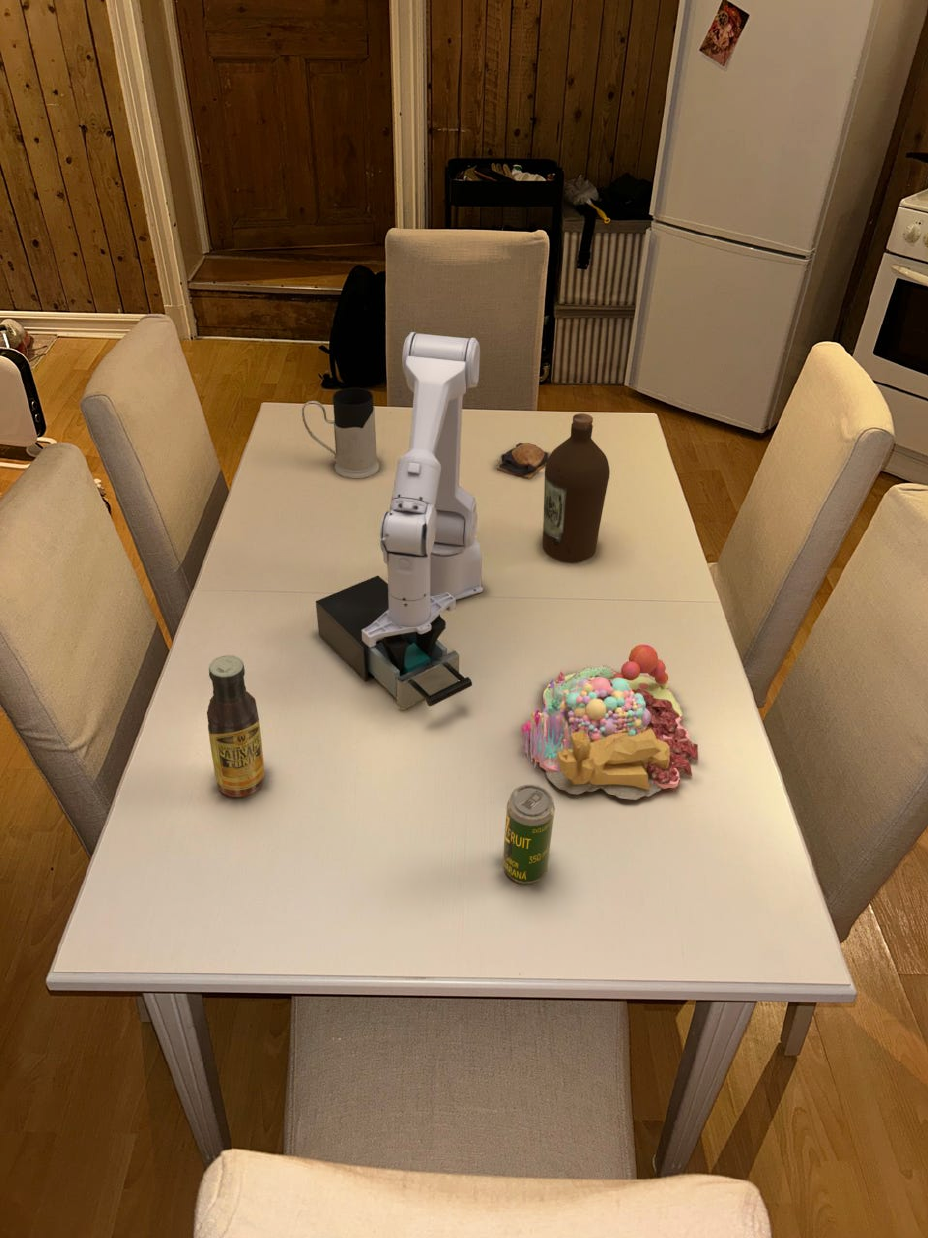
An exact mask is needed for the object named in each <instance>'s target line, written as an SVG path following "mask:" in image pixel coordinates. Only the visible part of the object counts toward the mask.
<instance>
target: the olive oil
mask: <svg viewBox="0 0 928 1238" xmlns="http://www.w3.org/2000/svg"><path fill="white" fill-rule="evenodd" d="M593 423H594V417H593V416H592V415H590V414H588V413H585V412H584V413H583V412H581V413H576V414H574V415H573V416H572V423H571V427H570V436H569V437H568V438H567V439H566V440H564V441H563V442H562V443H560V444H559V445H557V447H555V448H554V449H553V450H552V451H551V452H550V453H551V454H550V456H549V458H548V460H547V463H546V465H545V466H544V484H543V485H544V486H543V487H544V488H543V489H544V491H543V492H544V493H543V523H542V549H543V551H544V552H545V554H547V555H548V556H549V557H550V558H552V559H554V560H557V561H559V562H563V563H564V562H565V563H578V562H579V563H580V562H581V563H582V562H584V561H587V560H589V559H591V558H592V557H593V556H594V555H595V553H596V551H597V545H598V541H599V540H598V539H599V534H600V528H601V522H602V517H603V513H604V511H603V510H604V506H605V500H606V495H607V492H608V491H607V490H608V485H609V482H610V481H609V480H610V475H611V474H610V470H611V469H610V465H609V460H608V457H607V455H606V453H605V452H604V451H603V450H602V449H601V448H600V447H599V446H598V444H597V443H596V442H595V441H594V440H593V438H592V435H593V427H594V426H593Z"/></svg>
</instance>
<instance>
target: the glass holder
mask: <svg viewBox="0 0 928 1238" xmlns="http://www.w3.org/2000/svg"><path fill="white" fill-rule="evenodd" d="M312 404H315V405H317V406H318V407H319V408H320V409H321V410H322V413H323V419H324V421H325V422H326V423H327V424H331V425H333V433H334V447H335V450H334V449H332V448H331V447H329V446H328V444H326V443H324V442H323V441H321V440H320V439H319V438H318V437H317V436H316V435H314V434H313V432H312V430H311V429H310V427H309V426H308V423H307V421H306V416H305V408H306V406H308V405H312ZM332 404H333V420H329V419H328V418H327V412H326V409H325V407H324V405H322V403H321V402H319V401H317V400H310V401H307V402H306V403H304V404H303V406H302V408H301V417H302V423H303V425H304V427H305V430H306V431H307V432H308V434H309V435H310V437H311V438H312V439H313V440H314V441H315V442H317V443H318V444H319V445H321V446H322V447H323V448H324V449H326V450H327V451H329V452H330V453H331V454H333V456H334V460H336V461H335V465H334V471H335V472H336V474H337V475H340V476H341V477H343V478H347V479H364V478H369V477H371V476H373V475H375V474H377V472H378V471H379V470H380V464H379V462H378V457H377V454H378V453H377V434H376V413H375V412H376V411H375V406H374V394H373V392H372V391H370V390H368V389H366V388H362V387H345V388H342V389H339V390H337V391H336V392H334V394H333V395H332Z"/></svg>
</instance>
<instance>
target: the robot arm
mask: <svg viewBox="0 0 928 1238" xmlns="http://www.w3.org/2000/svg"><path fill="white" fill-rule="evenodd" d="M480 359H481V346H480V343H479V341H478V340H477V338H475V337H471V338H467V337H458V336H446V335H437V334H427V333H417V332H416V331H411V332H410V333H409V334H408V335H407V336H406V338H405V340H404V343H403V348H402V358H401V367H402V372H403V375H404V376H405V380H406V385H407V388H408V389H409V390H410V391H411V392H412V393H413V398H412V399H413V400H412V410H411V411H412V412H411V423H410V434H409V445H408V447H409V448H408V450H407V451H406V452H405V453H404V454H403V455H401V456H400V457H399V458H398V460H397V466H396V471H395V478H394V483H393V489H392V494H391V500H390V506H389V510H386V511H385V512H384V514H383V515H382V519H381V523H380V529H379V530H380V531H379V533H380V534H379V544H380V551H381V552H382V554H383V562H384V563H385V564H386V568H387V569H386V570H387V584H388V600H389V609H388V610H387V611H386V612H385V613H384V614H383V615H381V616H380V617H379V618H378V619H377V620H376V621H375V622H373V623H372V624H371V625H370V626H368V627H366V628H365V629H362V641H363V642H364V643H365V644H366V645H368V646H369V647H370V648H371V647H373V646H375V645H376V641H378V640H380V641H381V643H382V644H383V646H384V648H385V650H386V652H387V654H388V656H389V659H390V662H391V663H392V664H393V665H394V666H395V667H396V668H397V669H398V670H399V671H400V674H402V673H403V672H404V667H405V660H404V659H405V653H406V649H407V647H408V645H409V644H408V643H407V642H406V641H405V640H403V639H402V635H400V634H404V633H409V632H415V631H416V645H417V646H418V647H419V648H420V649H421V650H422V651H423V652H424V653H425V654H427V655H428V656H429V657H431V653H432V651H433V648H434V645H435V643H436V641H437V640H439V637H440V636H441V634H442V633H443V632H444V631H445V629H446V626H447V625H446V624H447V622H446V620H445V619H443V617H442V616H441V614H442V613H443V612H444V611H448V612H453V611H455V610H456V603H457V602H456V601H457V600H460V599H465V598H467V597H470V596H473V595H477V594H481V593H483V592H484V588H483V587H482V575H483V573H482V572H483V554H482V549H481V545H480V543H479V541H478V539H477V538H476V533H477V527H478V512H477V501H476V497H475V496H474V495H473V494H471V493H470V492H469V491H467V490H466V489H464V488H463V487H461V485H460V475H461V450H462V449H461V447H462V425H463V424H462V423H463V421H462V420H463V402H464V400H463V397H464V395H465V394H466V393H467V389H472V388H476V387H477V386H478V383H479V379H480Z"/></svg>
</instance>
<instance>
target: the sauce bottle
mask: <svg viewBox="0 0 928 1238" xmlns="http://www.w3.org/2000/svg"><path fill="white" fill-rule="evenodd" d="M245 674H246V670H245V665H244V661H243V660H242V659H241V658H240V657H238V656H235V655H232V654H231V655H229V654H227V655H221V656H218V657H216V658H214V659H213V660H212V661H211V662H210V664H209V666H208V677H209V679H210V680H211V683H212V696H211V698H210V699H209V703H208V705H207V710H206V718H207V731H208V737H209V746H210V753H211V759H212V765H213V772H214V777H215V781H216V783H217V784H216V785H217V788H218V790H219V791H220V792H221V793H222V794H223V795H225V796H227V797H232V798H244V797H248V796H250V795H251V794H253V793H255V792H256V791H258V790H259V789H260V788H261V787H262V785H263V782H264V777H265V763H264V754H263V741H262V733H261V726H260V718H259V711H258V705H257V701H256V698H255V697H254V696H253V695H251V693H250V692H248V691H247V687H246V685H245Z"/></svg>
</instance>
